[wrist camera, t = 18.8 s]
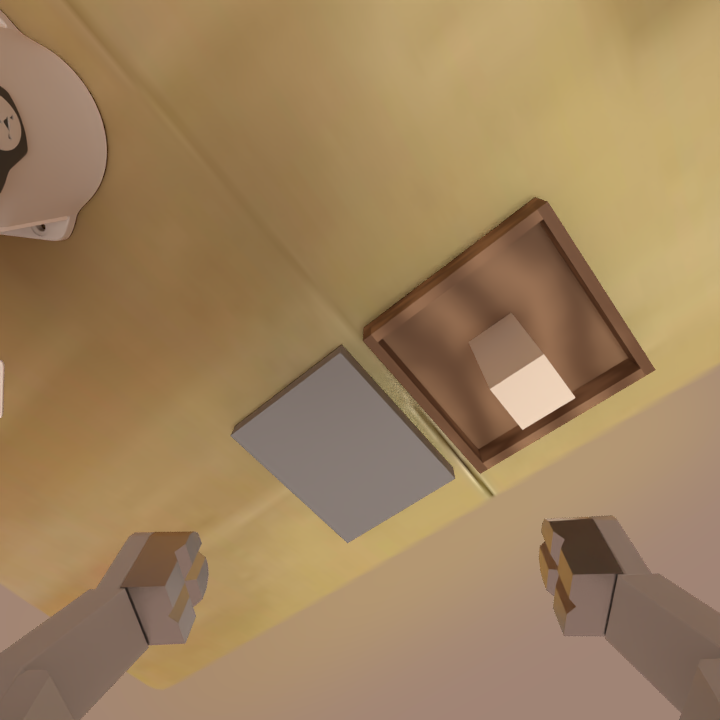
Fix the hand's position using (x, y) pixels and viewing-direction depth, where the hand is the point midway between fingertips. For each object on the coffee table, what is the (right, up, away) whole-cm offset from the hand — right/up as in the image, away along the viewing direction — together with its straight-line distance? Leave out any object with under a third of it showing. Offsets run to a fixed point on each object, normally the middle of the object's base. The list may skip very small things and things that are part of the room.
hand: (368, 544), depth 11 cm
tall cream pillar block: (+14, +6, +37) cm, 40 cm away
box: (+14, +6, +37) cm, 41 cm away
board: (-2, -6, +44) cm, 44 cm away
